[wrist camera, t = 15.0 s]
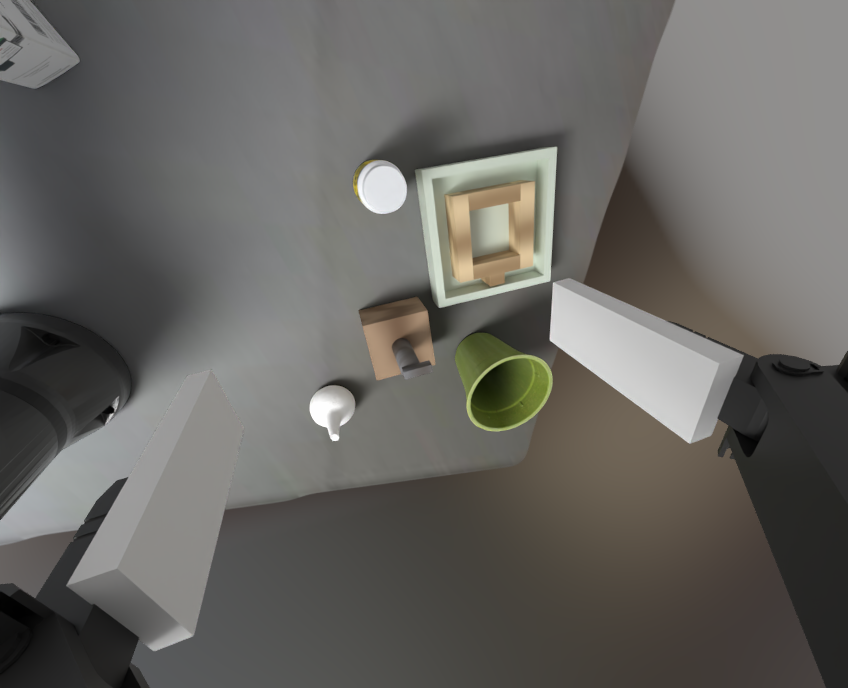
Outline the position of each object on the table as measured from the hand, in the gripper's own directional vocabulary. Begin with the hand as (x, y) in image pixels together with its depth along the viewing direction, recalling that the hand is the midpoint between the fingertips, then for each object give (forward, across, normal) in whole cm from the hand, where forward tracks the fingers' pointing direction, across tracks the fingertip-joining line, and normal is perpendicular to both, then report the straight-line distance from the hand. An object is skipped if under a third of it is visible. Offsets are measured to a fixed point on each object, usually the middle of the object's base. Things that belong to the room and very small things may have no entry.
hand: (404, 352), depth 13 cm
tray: (+30, +18, -4) cm, 35 cm away
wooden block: (+30, +4, -14) cm, 34 cm away
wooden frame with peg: (+29, +18, -4) cm, 34 cm away
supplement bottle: (+31, +5, +4) cm, 31 cm away
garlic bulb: (+31, -7, -23) cm, 40 cm away
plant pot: (+30, +15, -22) cm, 40 cm away
